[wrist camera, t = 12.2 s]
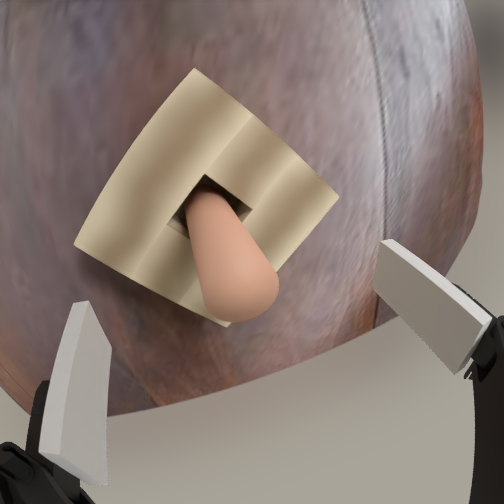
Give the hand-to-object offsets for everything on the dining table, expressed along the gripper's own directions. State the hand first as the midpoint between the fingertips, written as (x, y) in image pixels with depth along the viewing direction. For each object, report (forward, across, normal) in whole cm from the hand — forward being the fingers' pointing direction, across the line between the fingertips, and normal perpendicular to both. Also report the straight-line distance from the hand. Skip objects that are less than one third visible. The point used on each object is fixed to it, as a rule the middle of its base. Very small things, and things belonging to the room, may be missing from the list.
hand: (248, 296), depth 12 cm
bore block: (+17, 0, -1) cm, 17 cm away
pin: (+15, 0, -1) cm, 15 cm away
